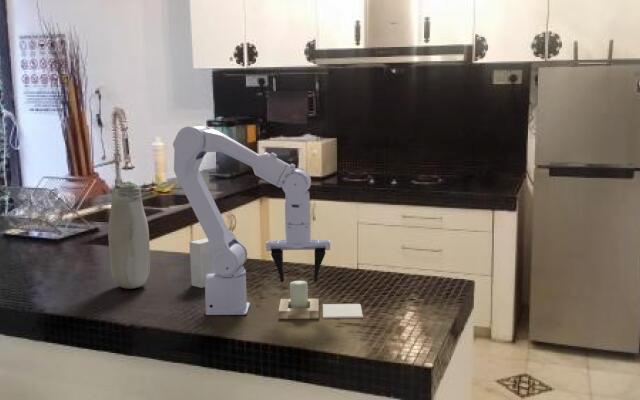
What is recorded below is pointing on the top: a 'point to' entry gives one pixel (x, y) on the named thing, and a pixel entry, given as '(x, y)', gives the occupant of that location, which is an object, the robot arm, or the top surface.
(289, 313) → the pocket holder
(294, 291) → the sage peg
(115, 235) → the pale grey-green bottle
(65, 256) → the top surface
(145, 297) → the top surface
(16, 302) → the top surface
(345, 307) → the pad
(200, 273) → the skincare box
